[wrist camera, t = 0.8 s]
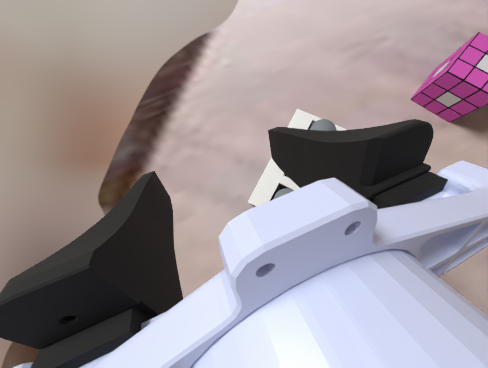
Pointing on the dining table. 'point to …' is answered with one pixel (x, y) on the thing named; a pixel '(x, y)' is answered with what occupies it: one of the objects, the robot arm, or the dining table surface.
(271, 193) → the button board
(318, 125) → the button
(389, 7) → the dining table surface
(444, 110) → the magenta cube
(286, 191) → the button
